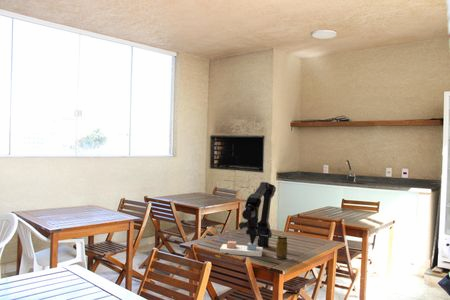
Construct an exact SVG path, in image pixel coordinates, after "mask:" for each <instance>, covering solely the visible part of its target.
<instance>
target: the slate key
mask: <svg viewBox="0 0 450 300" xmlns="http://www.w3.org/2000/svg"><path fill="white" fill-rule="evenodd" d="M246 246H247V250H256V247H258V242H254V243H253V244H251V242H247V245H246Z"/></svg>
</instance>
